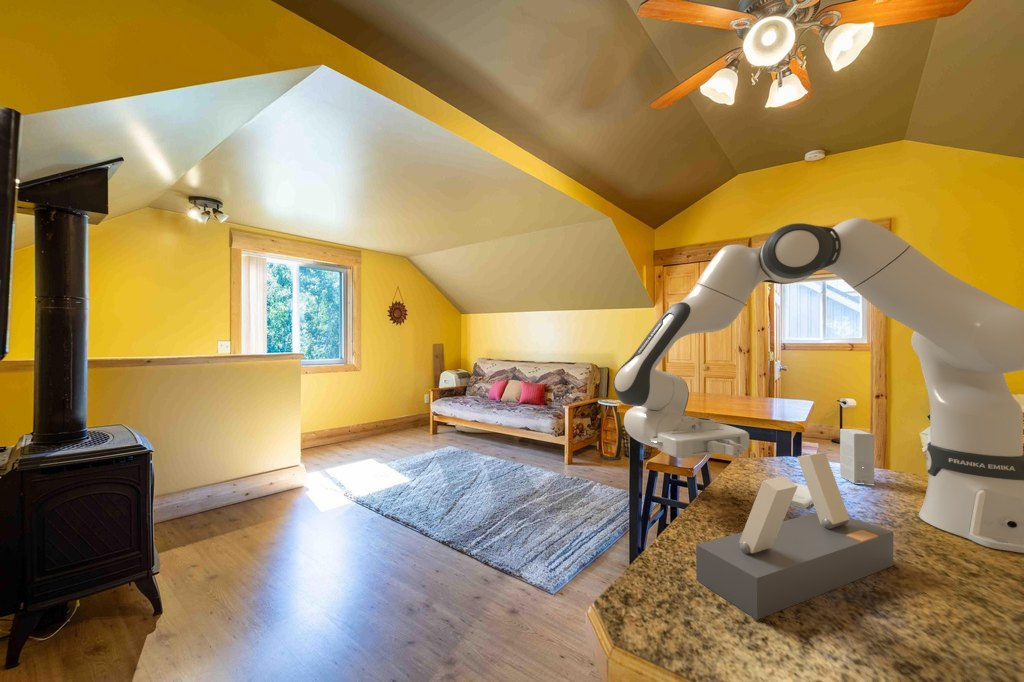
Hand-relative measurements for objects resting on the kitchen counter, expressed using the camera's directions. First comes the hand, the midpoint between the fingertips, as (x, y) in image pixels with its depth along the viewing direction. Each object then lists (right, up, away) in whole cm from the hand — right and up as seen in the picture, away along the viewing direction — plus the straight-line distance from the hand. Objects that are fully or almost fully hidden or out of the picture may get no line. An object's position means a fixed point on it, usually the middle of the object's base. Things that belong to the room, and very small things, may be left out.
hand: (738, 450), depth 78 cm
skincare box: (+40, -13, +21) cm, 47 cm away
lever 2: (+7, -7, -15) cm, 18 cm away
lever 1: (-10, -7, -22) cm, 25 cm away
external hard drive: (+18, -14, +11) cm, 26 cm away
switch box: (-2, -13, -18) cm, 22 cm away
